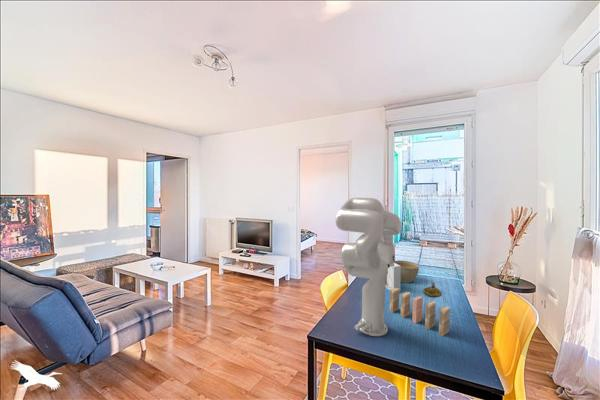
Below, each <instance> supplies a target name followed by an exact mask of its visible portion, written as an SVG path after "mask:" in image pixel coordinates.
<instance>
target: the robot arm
mask: <svg viewBox="0 0 600 400" xmlns="http://www.w3.org/2000/svg"><path fill="white" fill-rule="evenodd" d="M335 226H336V227H337V229H339V230H340V231H343V232H352V233H360V234H361V235H360V236H359V237H357V239H356V240H355V242H346V243H345V244H343V246H342V248H341V252H340V259H341V262H342V265H343V267H344V268H345V271H346V272H347V274H348V275H349V276H351V277H355V278H362V279H366V280H367V281H366V282H365V283H364V284H363V285H362V289H361V291H362V293H361V318H360V319H359V321H358V323H357V324H355V325H354V329H355V330H356V331H357V330H359V331H360V332H361V333H363V334H365V335H367V336H371V337H383V336H385V335H386V334H387V333H388V328H389V327H388V326H387V324H386V323H385V303H386V302H385V301H386V299H385V298H386V287H385V283H386V277H387V274H388V268H389V267H393V266H394V262H395V261H396V249H395V244H394V236H397V235H399V234H401V232H402V221H401V219H400V216H399V215H398V214H396V213H393V212H391V211H388V210H385V208H384V206H383V204H382V202H381V200H378V199H377V198H373V197H351V198H349V199H347V200H346V201H345V202H344V204H343V205H341V207H340V208H339V209H338V211H337V213H336V215H335Z"/></svg>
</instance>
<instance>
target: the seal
mask: <svg viewBox="0 0 600 400" xmlns="http://www.w3.org/2000/svg"><path fill="white" fill-rule="evenodd" d="M422 290H423V291H422V292H423V294H424V295H425V296H427V297H428V298H440V297H441V296H442V292H441V290H440V289H439V288H437V287H436V285H435V282H432V283H431V286H429V287H425V288H423V289H422Z"/></svg>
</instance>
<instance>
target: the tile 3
mask: <svg viewBox="0 0 600 400" xmlns="http://www.w3.org/2000/svg"><path fill="white" fill-rule="evenodd" d="M436 303H437V302H436V301H433V300H430V301H428V302H426V303H425V314H424V315H425V317H424V321H425V322H424V328H425V329H427V330H431V329H432V328H433V327H435V325H436Z"/></svg>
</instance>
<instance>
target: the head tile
mask: <svg viewBox="0 0 600 400" xmlns="http://www.w3.org/2000/svg"><path fill="white" fill-rule="evenodd" d="M399 310H400V292H399V288H394V289H391V290H389V312H390V313H392V314H393V313H395V312H398V311H399Z"/></svg>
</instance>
